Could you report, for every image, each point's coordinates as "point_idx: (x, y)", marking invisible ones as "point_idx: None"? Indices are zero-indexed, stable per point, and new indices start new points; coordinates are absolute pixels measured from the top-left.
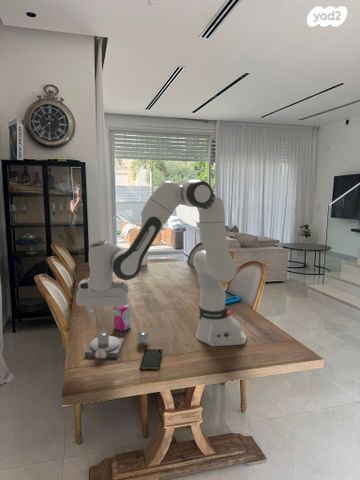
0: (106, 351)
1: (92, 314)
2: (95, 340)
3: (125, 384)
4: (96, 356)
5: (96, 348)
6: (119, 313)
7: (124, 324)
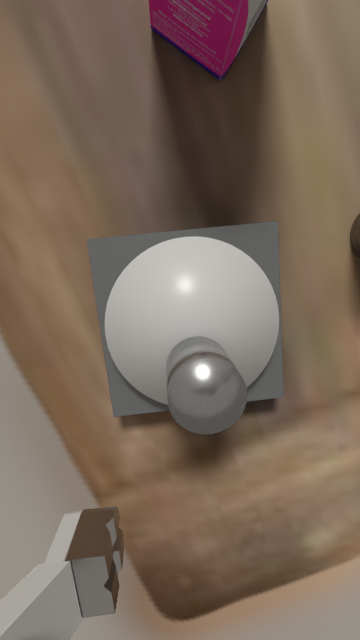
0: None
1: (116, 577)
2: (125, 312)
3: (349, 548)
4: None
5: None
6: None
7: (246, 22)
